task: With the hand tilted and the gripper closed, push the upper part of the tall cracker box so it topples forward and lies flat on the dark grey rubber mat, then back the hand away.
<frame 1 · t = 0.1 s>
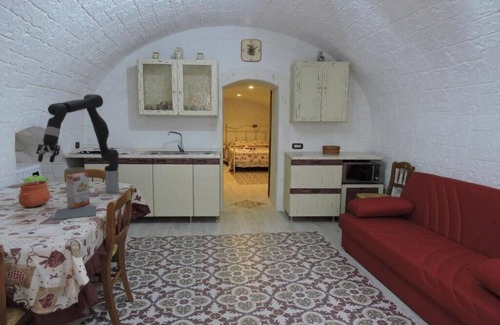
hand: (45, 161, 191), 31 cm above the table, tool tilted 20°, fingers open, 8 cm apart
plant pot: (76, 188, 262), on the table
cracker box: (79, 206, 211), on the table, touching rubber mat
rubber mat: (76, 212, 198), on the table
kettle: (35, 189, 259), on the table
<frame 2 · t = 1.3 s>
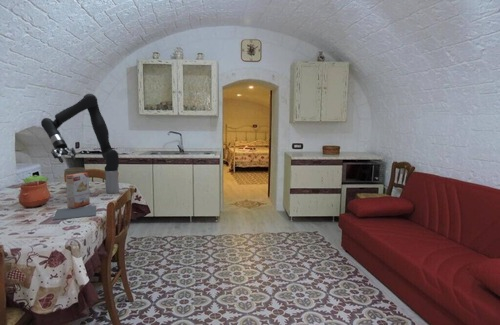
hand: (68, 161, 214), 28 cm above the table, tool tilted 45°, fingers open, 7 cm apart
cracker box: (79, 206, 211), on the table, touching rubber mat
everything else where it was.
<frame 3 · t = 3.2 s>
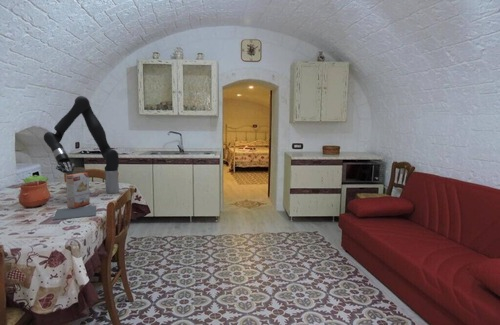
hand: (71, 176, 214), 19 cm above the table, tool tilted 45°, fingers closed
nothing on the table moved.
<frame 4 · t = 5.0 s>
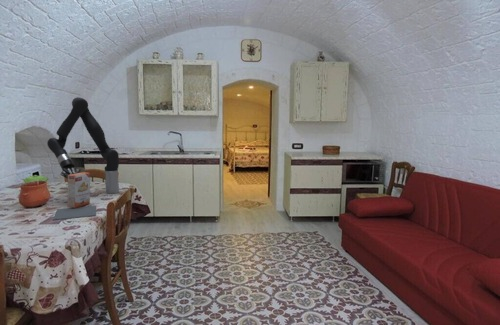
hand: (76, 182, 212), 15 cm above the table, tool tilted 45°, fingers closed
cracker box: (79, 205, 211), on the table, touching gripper, rubber mat
everything else where it was.
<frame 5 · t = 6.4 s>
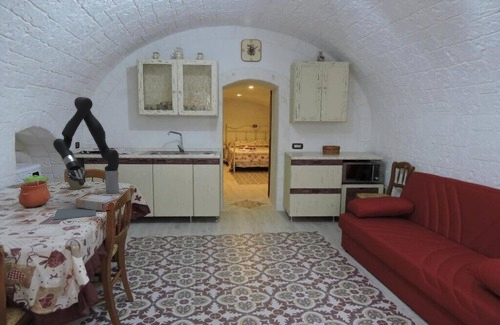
hand: (82, 184, 207), 15 cm above the table, tool tilted 45°, fingers closed
cracker box: (82, 200, 211), point 4 cm above the table, touching rubber mat
everything else where it was.
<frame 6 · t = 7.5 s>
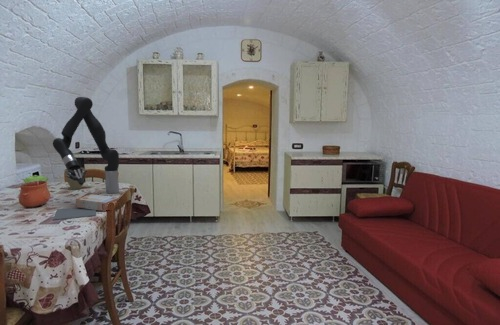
hand: (82, 184, 207), 15 cm above the table, tool tilted 45°, fingers closed
cracker box: (82, 200, 210), point 4 cm above the table, touching rubber mat
everything else where it was.
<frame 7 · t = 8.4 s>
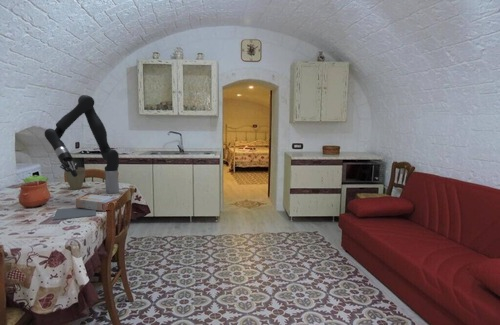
hand: (75, 176, 213), 19 cm above the table, tool tilted 40°, fingers closed
nothing on the table moved.
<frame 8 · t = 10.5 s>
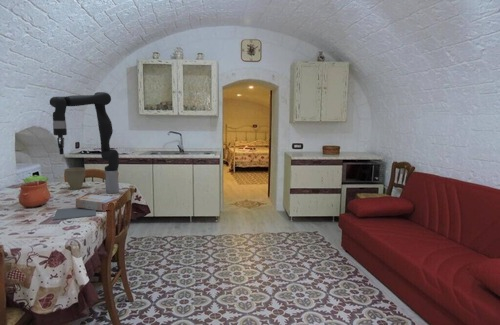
hand: (61, 154, 215), 33 cm above the table, tool pointing down, fingers closed
nothing on the table moved.
at the end: cracker box tilted 93°; cracker box touching rubber mat, table; the gripper is holding nothing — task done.
